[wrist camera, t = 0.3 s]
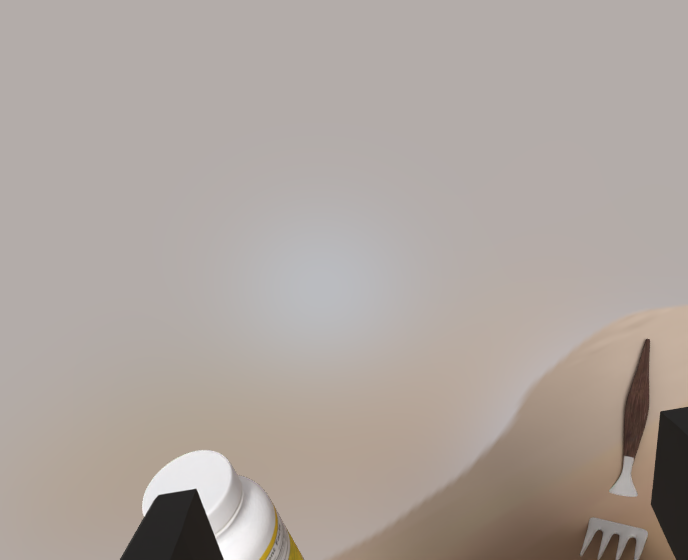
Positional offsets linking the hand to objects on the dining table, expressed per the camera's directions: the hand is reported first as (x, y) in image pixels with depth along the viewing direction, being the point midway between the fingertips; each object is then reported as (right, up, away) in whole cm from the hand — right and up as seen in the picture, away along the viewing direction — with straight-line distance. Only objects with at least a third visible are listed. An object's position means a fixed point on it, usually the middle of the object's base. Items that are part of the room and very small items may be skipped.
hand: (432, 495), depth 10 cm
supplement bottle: (-5, -13, +22) cm, 26 cm away
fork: (+14, -6, +24) cm, 28 cm away
